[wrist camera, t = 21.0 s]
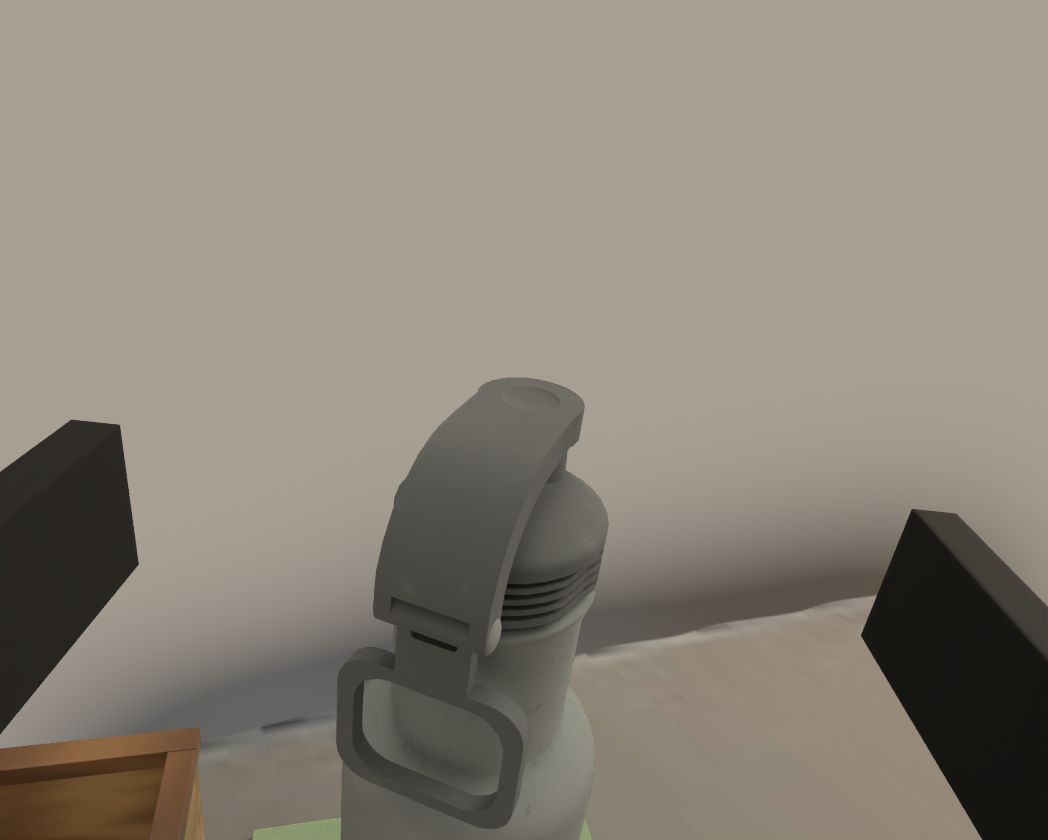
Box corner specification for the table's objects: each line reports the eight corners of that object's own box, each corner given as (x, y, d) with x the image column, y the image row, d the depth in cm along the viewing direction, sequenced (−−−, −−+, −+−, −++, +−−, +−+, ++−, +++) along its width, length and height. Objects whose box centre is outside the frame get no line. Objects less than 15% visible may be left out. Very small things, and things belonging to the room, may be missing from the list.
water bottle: (499, 1143, 28) (634, 550, 16) (286, 1028, 31) (271, 442, 19) (571, 898, 37) (691, 400, 25) (401, 824, 39) (439, 340, 28)
